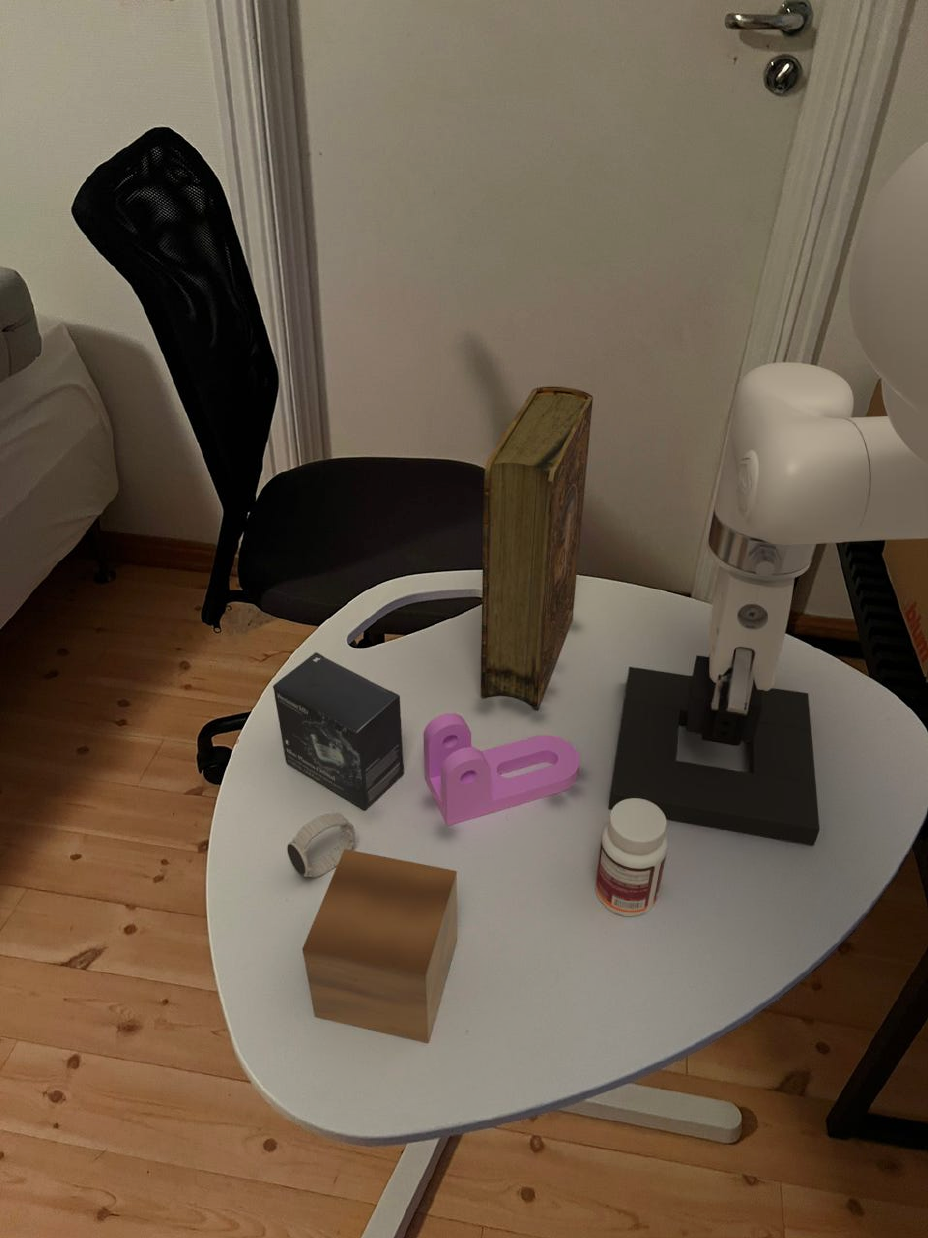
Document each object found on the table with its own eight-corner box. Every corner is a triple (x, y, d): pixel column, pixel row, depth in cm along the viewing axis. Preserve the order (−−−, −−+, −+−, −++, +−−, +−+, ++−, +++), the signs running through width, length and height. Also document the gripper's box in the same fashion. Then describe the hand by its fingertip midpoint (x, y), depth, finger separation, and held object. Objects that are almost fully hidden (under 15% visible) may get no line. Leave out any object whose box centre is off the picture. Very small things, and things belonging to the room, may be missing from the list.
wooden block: (428, 1044, 62) (425, 976, 57) (314, 1017, 63) (301, 949, 58) (457, 939, 68) (456, 870, 63) (352, 918, 69) (344, 848, 64)
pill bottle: (623, 856, 74) (635, 783, 69) (670, 894, 71) (686, 822, 66) (581, 888, 71) (590, 815, 66) (628, 930, 68) (641, 857, 63)
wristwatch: (289, 871, 73) (281, 829, 69) (342, 838, 75) (337, 796, 72) (309, 895, 71) (302, 853, 68) (363, 860, 73) (359, 818, 70)
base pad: (813, 846, 74) (819, 829, 73) (608, 809, 77) (610, 793, 76) (803, 709, 87) (808, 693, 86) (627, 682, 90) (629, 666, 89)
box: (283, 765, 81) (269, 684, 76) (326, 729, 85) (316, 648, 79) (364, 814, 77) (356, 731, 71) (406, 773, 81) (402, 692, 75)
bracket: (447, 826, 76) (446, 766, 72) (424, 778, 80) (422, 719, 76) (589, 783, 80) (596, 724, 76) (561, 739, 84) (566, 681, 80)
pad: (753, 742, 77) (762, 707, 74) (686, 732, 78) (693, 696, 75) (752, 699, 81) (761, 664, 79) (689, 689, 82) (696, 654, 80)
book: (525, 603, 100) (536, 383, 85) (575, 613, 99) (595, 391, 84) (480, 702, 88) (484, 465, 72) (536, 715, 86) (552, 476, 71)
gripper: (823, 612, 61) (768, 798, 72) (809, 484, 74) (764, 658, 85) (706, 596, 62) (669, 781, 73) (712, 474, 76) (681, 646, 87)
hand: (720, 713), depth 79 cm, fingers closed on pad, 5 cm apart
